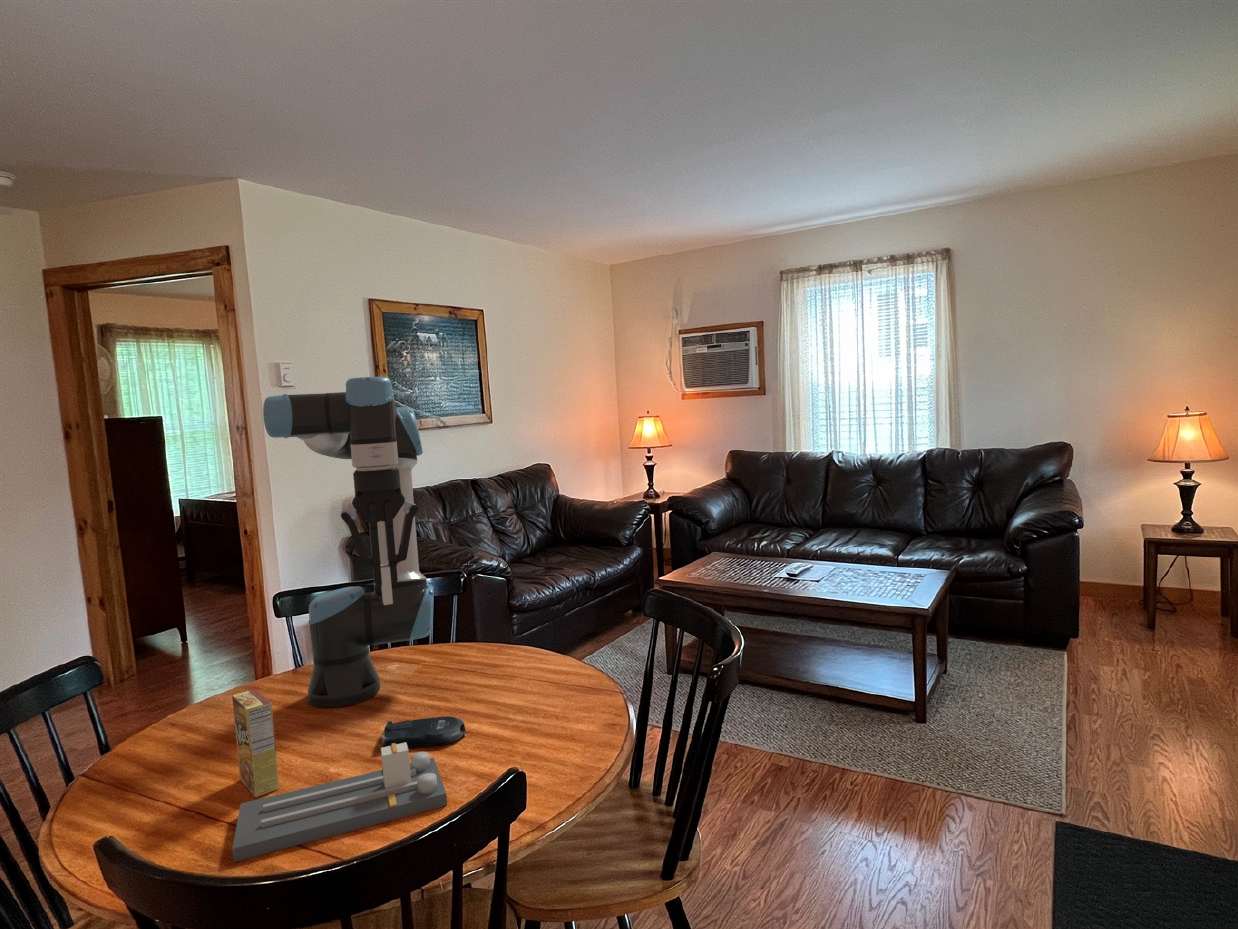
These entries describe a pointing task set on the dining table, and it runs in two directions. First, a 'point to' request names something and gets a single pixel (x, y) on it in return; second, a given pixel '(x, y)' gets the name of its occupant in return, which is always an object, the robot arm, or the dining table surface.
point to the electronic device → (424, 732)
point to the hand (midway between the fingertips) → (387, 602)
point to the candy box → (255, 742)
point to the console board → (335, 809)
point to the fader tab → (395, 765)
